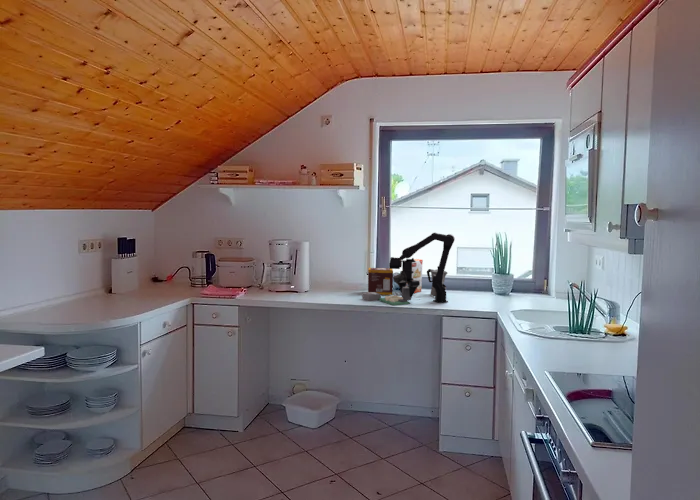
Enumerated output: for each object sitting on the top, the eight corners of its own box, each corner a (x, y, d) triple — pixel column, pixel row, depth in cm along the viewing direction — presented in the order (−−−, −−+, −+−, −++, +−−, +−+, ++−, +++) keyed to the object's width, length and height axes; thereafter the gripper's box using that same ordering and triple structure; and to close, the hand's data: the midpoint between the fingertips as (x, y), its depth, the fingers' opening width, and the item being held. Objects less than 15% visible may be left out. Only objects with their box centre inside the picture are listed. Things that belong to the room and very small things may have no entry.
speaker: (380, 300, 294) (381, 293, 293) (368, 301, 290) (368, 294, 290) (374, 297, 301) (374, 291, 301) (362, 298, 297) (362, 292, 297)
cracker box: (411, 294, 314) (411, 261, 312) (402, 293, 318) (403, 260, 316) (422, 291, 325) (423, 259, 323) (413, 290, 329) (414, 258, 327)
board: (409, 304, 284) (409, 298, 283) (393, 305, 279) (393, 299, 279) (394, 299, 298) (394, 293, 298) (378, 300, 293) (378, 294, 293)
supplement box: (367, 291, 322) (368, 267, 320) (392, 292, 321) (392, 267, 320) (367, 294, 312) (368, 269, 310) (392, 295, 311) (393, 270, 310)
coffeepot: (451, 295, 312) (452, 266, 310) (441, 297, 305) (442, 268, 303) (430, 292, 323) (431, 264, 321) (421, 294, 316) (422, 265, 315)
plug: (411, 300, 296) (411, 287, 295) (404, 300, 294) (404, 288, 293) (407, 298, 300) (407, 286, 299) (400, 299, 298) (401, 286, 297)
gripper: (387, 268, 300) (386, 294, 301) (404, 272, 283) (403, 299, 285) (403, 267, 305) (402, 292, 306) (420, 271, 288) (419, 298, 290)
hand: (406, 295), depth 297 cm, fingers open, 9 cm apart
